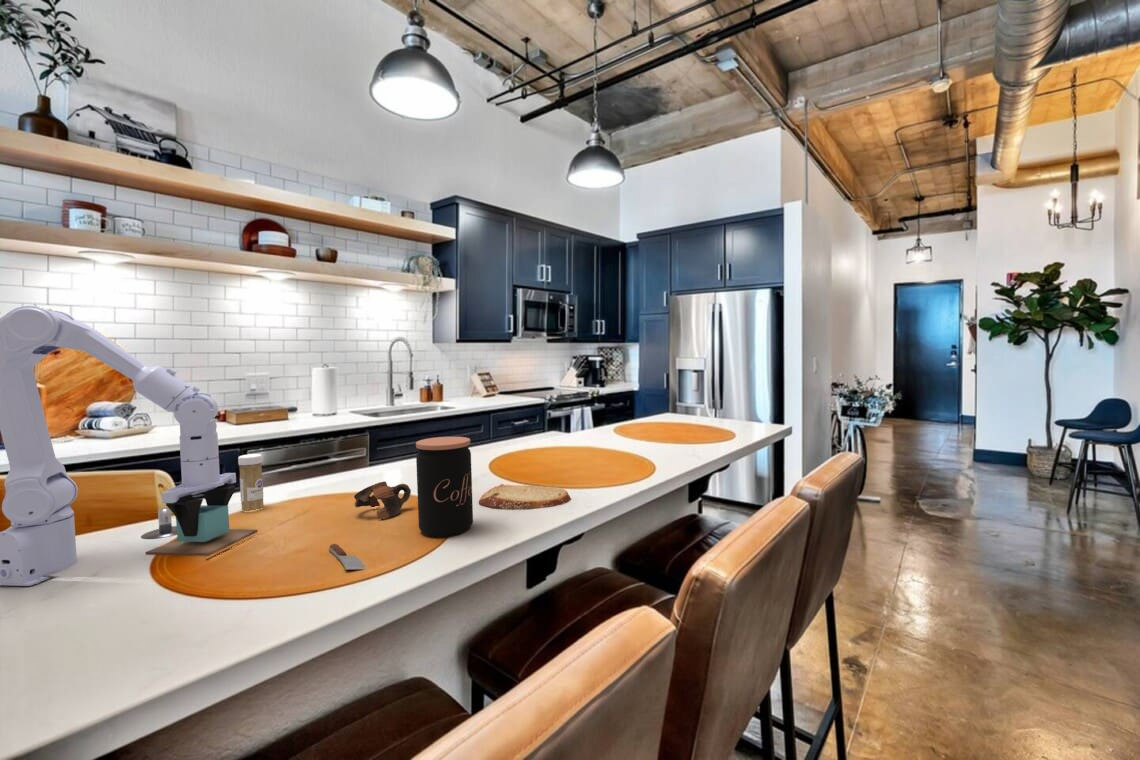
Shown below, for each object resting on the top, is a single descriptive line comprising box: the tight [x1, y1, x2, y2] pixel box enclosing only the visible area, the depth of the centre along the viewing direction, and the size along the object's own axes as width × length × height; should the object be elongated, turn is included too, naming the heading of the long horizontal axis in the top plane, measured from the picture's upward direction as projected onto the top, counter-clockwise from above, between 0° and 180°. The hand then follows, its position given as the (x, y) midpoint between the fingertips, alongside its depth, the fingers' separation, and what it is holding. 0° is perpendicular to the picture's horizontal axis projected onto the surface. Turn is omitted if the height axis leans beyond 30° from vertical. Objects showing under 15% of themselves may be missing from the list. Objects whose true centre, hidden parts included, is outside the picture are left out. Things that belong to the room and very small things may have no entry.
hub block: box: [145, 512, 258, 561], centre depth 94 cm, size 12×12×6 cm
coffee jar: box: [415, 436, 474, 538], centre depth 100 cm, size 11×11×18 cm
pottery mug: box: [353, 481, 412, 520], centre depth 113 cm, size 12×10×8 cm
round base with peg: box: [140, 507, 177, 540], centre depth 100 cm, size 8×8×6 cm
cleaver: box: [328, 543, 366, 571], centre depth 87 cm, size 13×2×5 cm
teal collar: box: [175, 504, 230, 542], centre depth 94 cm, size 6×6×5 cm
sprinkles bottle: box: [237, 453, 265, 511], centre depth 114 cm, size 5×5×13 cm
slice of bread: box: [478, 483, 572, 511], centre depth 119 cm, size 18×18×4 cm
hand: (204, 530), depth 94 cm, fingers closed on teal collar, 5 cm apart
